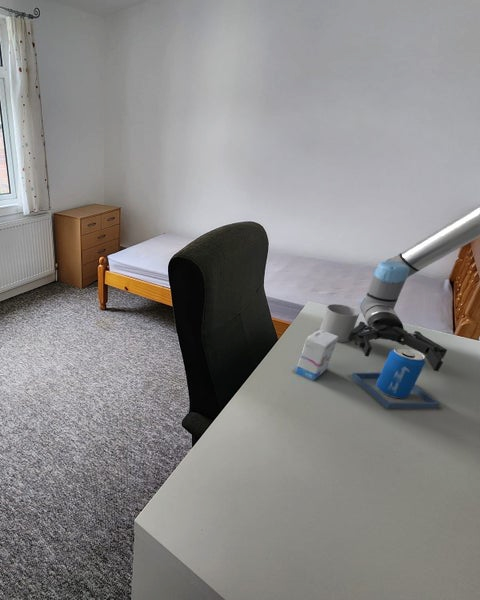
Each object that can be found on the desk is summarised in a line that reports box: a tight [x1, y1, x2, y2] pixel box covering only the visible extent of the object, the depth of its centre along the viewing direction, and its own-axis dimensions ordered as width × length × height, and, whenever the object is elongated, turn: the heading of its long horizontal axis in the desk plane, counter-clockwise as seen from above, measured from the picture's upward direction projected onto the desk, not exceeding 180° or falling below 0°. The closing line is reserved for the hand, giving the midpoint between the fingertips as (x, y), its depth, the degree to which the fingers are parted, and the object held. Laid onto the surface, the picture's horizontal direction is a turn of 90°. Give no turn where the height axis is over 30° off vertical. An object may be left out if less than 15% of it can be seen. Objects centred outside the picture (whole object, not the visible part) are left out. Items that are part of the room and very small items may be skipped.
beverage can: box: [375, 346, 426, 399], centre depth 85 cm, size 6×6×12 cm
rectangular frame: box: [350, 372, 441, 410], centre depth 87 cm, size 12×12×2 cm
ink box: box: [294, 329, 338, 381], centre depth 93 cm, size 9×5×12 cm, turn 126°
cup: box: [319, 303, 360, 343], centre depth 110 cm, size 8×8×10 cm
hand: (402, 359), depth 85 cm, fingers open, 13 cm apart
